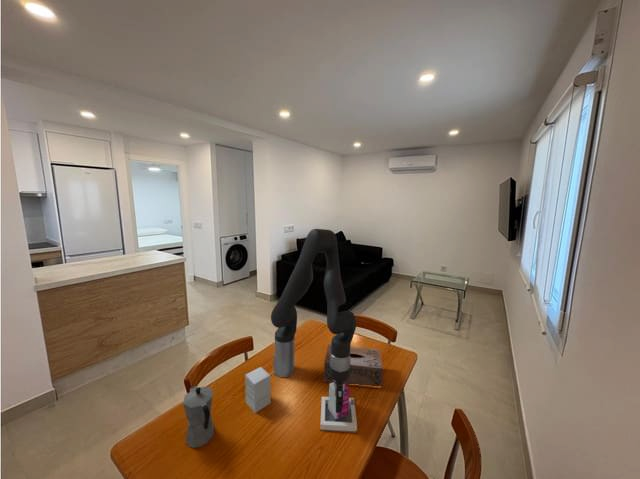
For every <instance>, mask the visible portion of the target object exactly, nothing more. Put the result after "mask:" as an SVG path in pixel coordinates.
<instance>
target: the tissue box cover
mask: <svg viewBox="0 0 640 479" xmlns="http://www.w3.org/2000/svg"><path fill="white" fill-rule="evenodd" d="M325 351H326V352H325V357H324V358H325V359H324V365H323V366H324V367H323V383H329V382H331V383H333V382H334V380H333V379H332V378H331V377H330V355H331V344H327V346H326V350H325ZM383 374H384V366H383V362H382V355H381V349H376V348H375V349H374V348H366V347H355V346H350V377H349V379H348V380H346V381H344V383H345V384H359V385H372V386H382V387H383Z"/></svg>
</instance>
